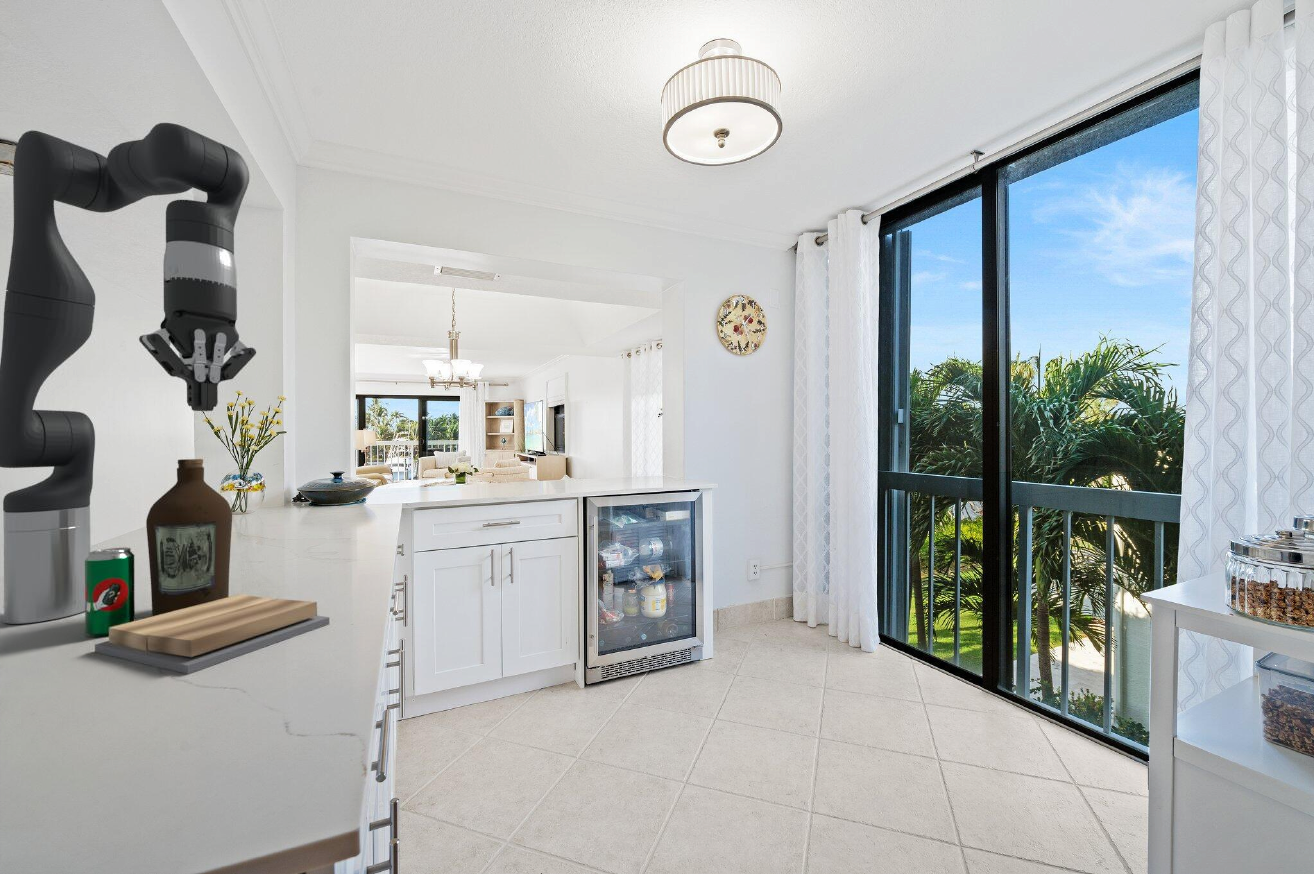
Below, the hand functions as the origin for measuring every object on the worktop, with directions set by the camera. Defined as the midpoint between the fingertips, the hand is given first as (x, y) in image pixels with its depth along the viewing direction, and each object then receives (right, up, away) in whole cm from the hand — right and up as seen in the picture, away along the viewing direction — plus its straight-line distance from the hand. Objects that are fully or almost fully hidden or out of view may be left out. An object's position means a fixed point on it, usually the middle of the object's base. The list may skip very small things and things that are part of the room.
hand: (202, 410), depth 71 cm
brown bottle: (-15, -33, +15) cm, 39 cm away
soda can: (-19, -33, +6) cm, 38 cm away
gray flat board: (0, -32, +3) cm, 32 cm away
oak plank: (-5, -32, +5) cm, 33 cm away
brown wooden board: (+4, -31, +2) cm, 31 cm away
